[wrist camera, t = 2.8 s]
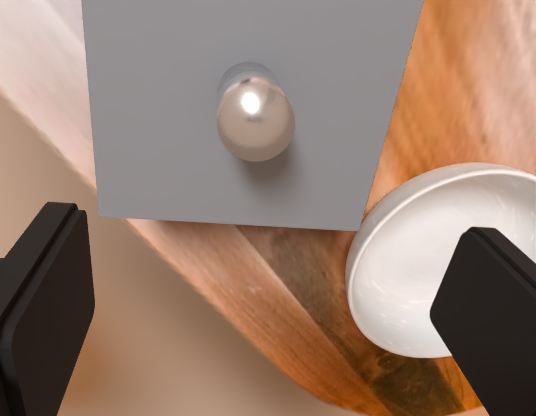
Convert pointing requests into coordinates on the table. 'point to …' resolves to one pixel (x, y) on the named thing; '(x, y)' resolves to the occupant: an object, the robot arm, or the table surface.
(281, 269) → the table surface
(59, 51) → the table surface
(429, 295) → the serving bowl
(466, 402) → the table surface
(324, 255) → the table surface
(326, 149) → the cover
